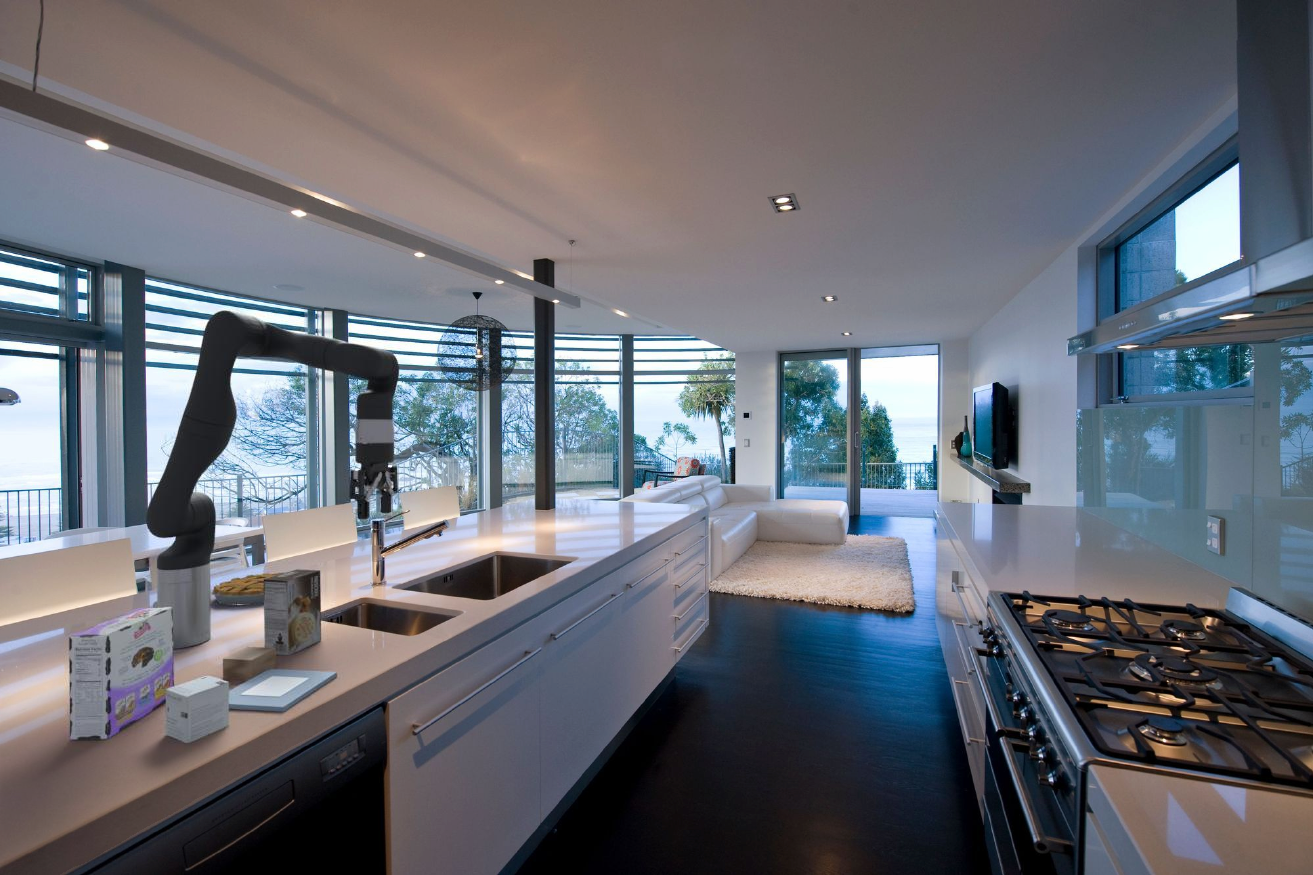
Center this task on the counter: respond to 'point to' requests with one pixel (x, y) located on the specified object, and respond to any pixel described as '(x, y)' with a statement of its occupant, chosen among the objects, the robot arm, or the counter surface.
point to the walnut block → (249, 662)
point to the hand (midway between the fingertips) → (375, 515)
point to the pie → (242, 590)
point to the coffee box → (292, 611)
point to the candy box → (119, 671)
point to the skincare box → (197, 708)
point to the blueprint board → (277, 689)
